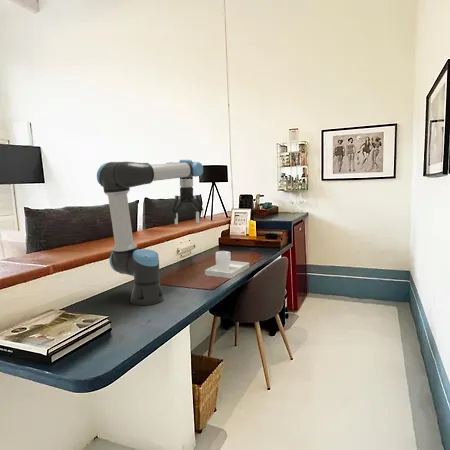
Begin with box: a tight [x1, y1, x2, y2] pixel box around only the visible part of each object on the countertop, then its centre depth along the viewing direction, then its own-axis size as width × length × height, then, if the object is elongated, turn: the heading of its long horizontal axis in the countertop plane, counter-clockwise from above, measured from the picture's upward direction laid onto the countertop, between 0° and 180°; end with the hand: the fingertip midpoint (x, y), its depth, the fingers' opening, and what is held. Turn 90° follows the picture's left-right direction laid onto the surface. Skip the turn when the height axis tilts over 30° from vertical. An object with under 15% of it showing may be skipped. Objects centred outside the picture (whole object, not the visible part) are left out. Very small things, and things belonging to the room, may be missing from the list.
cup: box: [215, 250, 231, 272], centre depth 212 cm, size 9×9×12 cm
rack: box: [204, 260, 250, 279], centre depth 219 cm, size 28×17×3 cm, turn 154°
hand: (187, 223), depth 207 cm, fingers open, 13 cm apart
